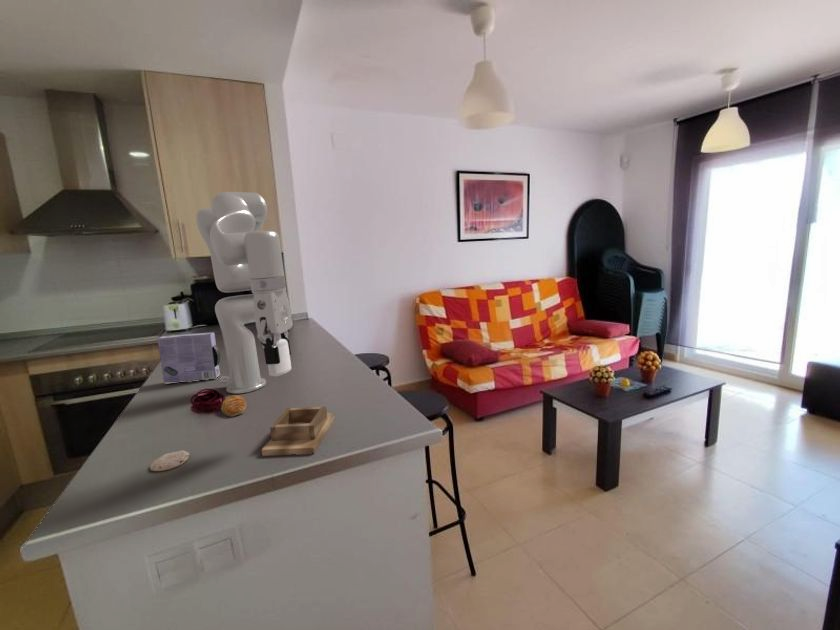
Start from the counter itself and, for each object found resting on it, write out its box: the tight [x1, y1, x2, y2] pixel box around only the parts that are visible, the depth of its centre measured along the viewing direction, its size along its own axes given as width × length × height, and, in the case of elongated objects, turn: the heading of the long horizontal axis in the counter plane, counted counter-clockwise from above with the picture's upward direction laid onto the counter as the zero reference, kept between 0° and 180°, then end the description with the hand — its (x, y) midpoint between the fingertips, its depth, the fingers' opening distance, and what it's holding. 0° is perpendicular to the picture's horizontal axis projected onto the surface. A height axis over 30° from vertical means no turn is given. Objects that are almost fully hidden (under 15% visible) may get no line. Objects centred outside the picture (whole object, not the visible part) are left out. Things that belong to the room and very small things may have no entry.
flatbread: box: [149, 449, 190, 472], centre depth 88 cm, size 8×8×1 cm
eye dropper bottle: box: [267, 332, 292, 377], centre depth 92 cm, size 4×6×12 cm
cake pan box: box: [157, 331, 221, 384], centre depth 142 cm, size 19×5×18 cm, turn 100°
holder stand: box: [261, 406, 336, 457], centre depth 95 cm, size 12×18×5 cm, turn 178°
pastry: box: [220, 394, 248, 418], centre depth 113 cm, size 9×7×4 cm
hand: (278, 358), depth 93 cm, fingers closed on eye dropper bottle, 5 cm apart
